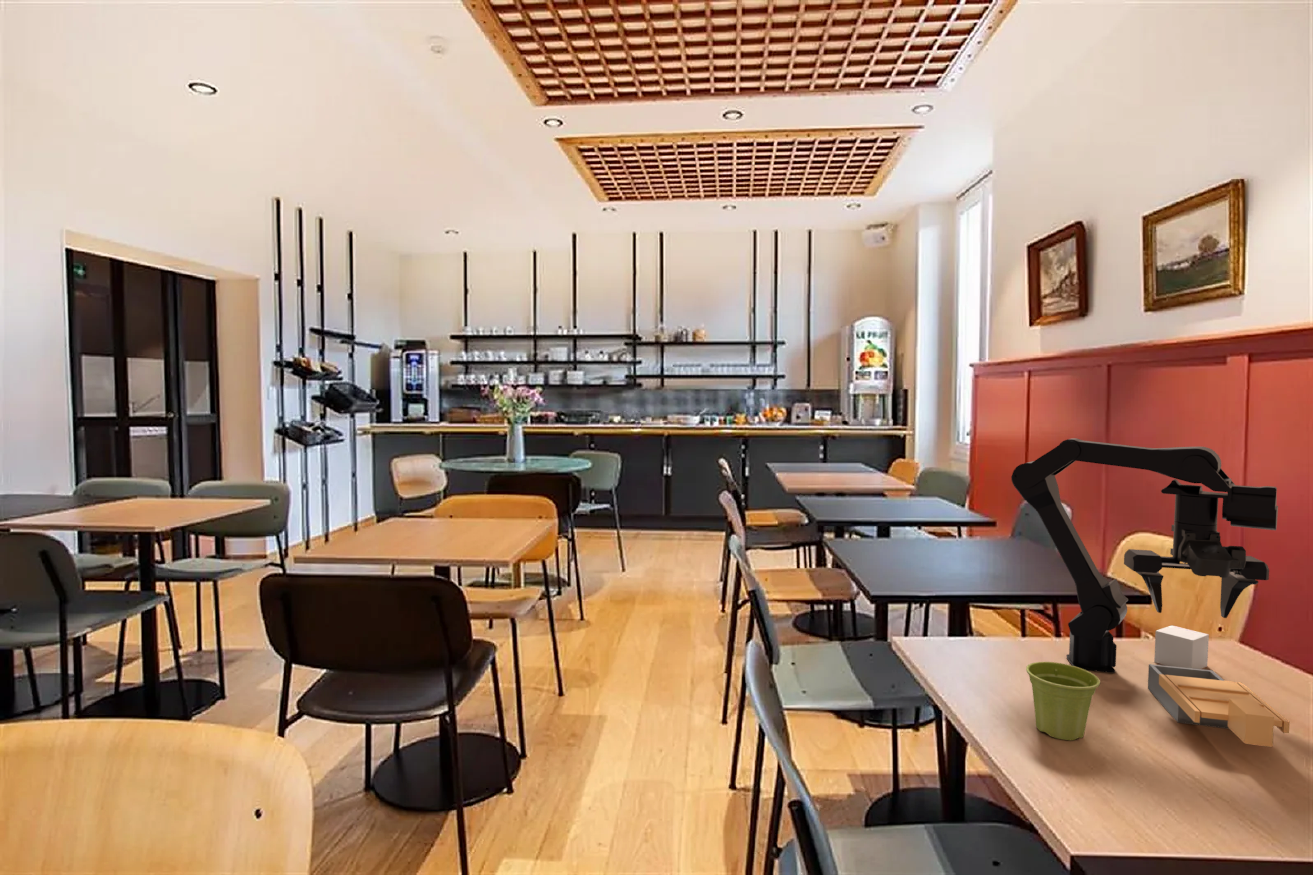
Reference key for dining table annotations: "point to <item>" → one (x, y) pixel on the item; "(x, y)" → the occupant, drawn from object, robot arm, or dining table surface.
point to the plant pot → (1061, 698)
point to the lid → (1226, 706)
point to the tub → (1170, 703)
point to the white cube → (1181, 647)
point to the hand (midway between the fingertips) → (1191, 614)
